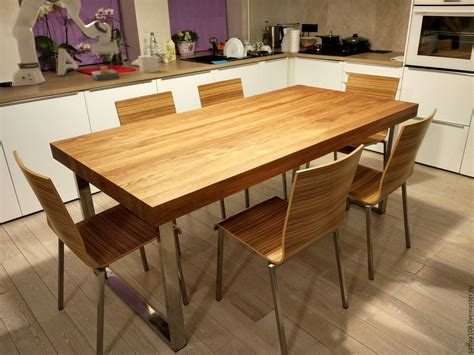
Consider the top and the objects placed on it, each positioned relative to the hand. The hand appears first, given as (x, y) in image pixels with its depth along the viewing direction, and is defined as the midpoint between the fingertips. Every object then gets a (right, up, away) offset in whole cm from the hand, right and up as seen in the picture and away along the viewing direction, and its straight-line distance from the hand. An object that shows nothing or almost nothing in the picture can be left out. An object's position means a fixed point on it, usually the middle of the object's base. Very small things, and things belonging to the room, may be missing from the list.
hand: (104, 57), depth 305 cm
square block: (+3, -17, -6) cm, 18 cm away
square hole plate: (+3, -17, -6) cm, 18 cm away
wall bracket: (-37, -5, +22) cm, 43 cm away
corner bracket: (+32, -6, +15) cm, 36 cm away
